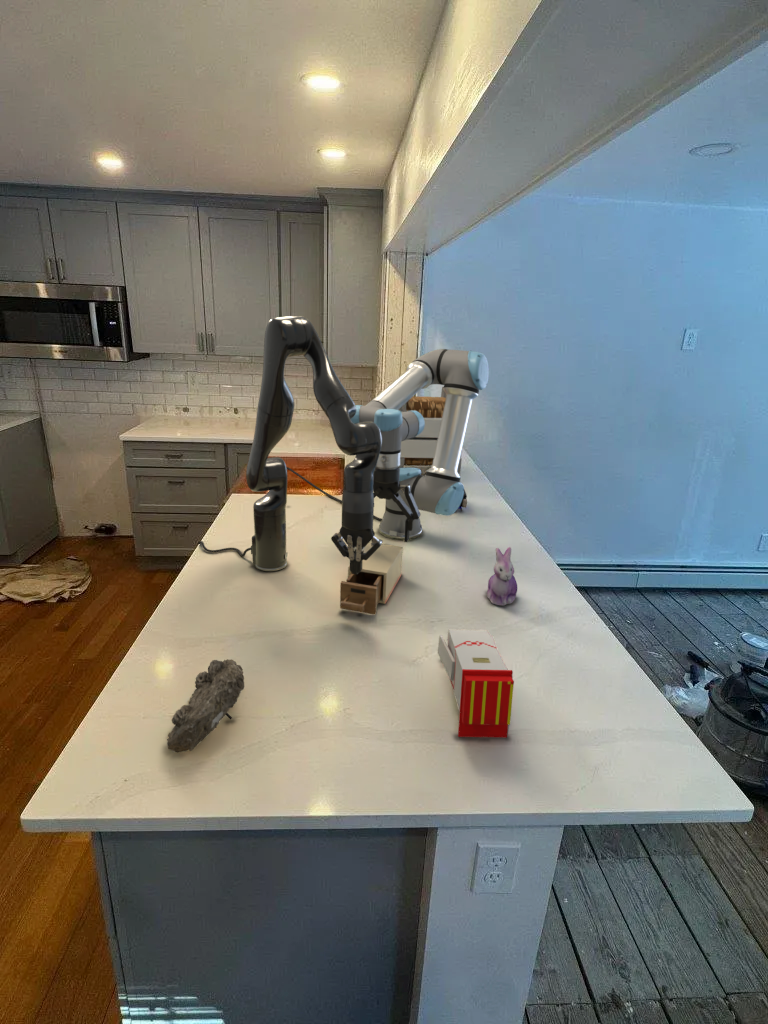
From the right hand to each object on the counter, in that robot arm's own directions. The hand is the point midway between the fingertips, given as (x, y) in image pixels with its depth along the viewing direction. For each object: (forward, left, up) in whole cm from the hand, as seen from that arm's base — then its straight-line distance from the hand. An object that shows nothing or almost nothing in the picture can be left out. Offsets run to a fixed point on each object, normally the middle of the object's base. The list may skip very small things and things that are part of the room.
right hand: (383, 537), depth 164 cm
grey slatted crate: (-75, +88, -13) cm, 116 cm away
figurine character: (-30, +65, -13) cm, 73 cm away
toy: (+52, -20, -13) cm, 57 cm away
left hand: (+15, -22, 0) cm, 26 cm away
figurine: (+30, +18, -13) cm, 37 cm away
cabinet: (+4, -5, -13) cm, 14 cm away
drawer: (+10, -15, -12) cm, 21 cm away
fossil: (+27, -65, -13) cm, 72 cm away
